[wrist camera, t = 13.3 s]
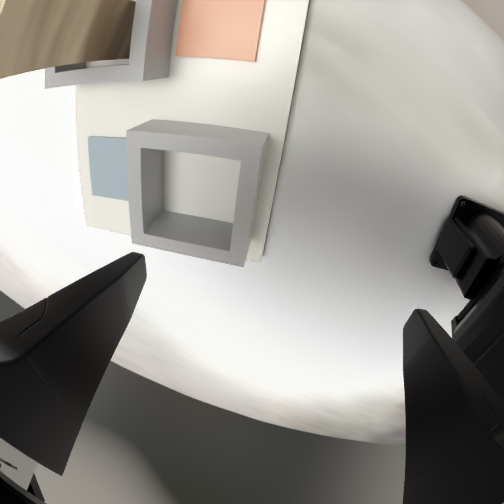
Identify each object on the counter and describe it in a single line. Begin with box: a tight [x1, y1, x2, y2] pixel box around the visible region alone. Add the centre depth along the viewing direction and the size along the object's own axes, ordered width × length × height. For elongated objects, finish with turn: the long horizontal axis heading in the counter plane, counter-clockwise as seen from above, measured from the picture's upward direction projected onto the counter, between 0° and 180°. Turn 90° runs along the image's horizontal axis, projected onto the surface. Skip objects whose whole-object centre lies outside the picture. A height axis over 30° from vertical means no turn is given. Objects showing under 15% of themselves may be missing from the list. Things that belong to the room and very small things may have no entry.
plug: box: [0, 0, 136, 79], centre depth 9 cm, size 4×4×13 cm
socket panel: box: [45, 0, 309, 267], centre depth 16 cm, size 16×22×4 cm
